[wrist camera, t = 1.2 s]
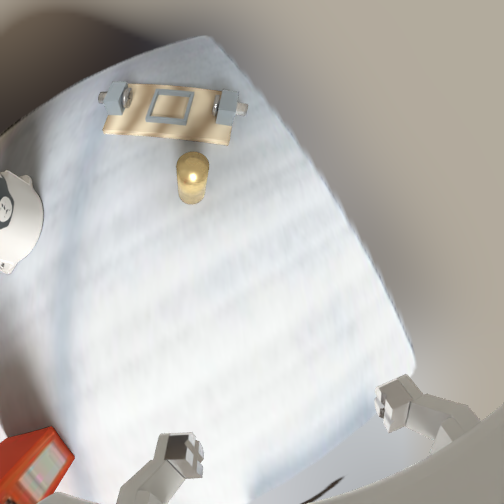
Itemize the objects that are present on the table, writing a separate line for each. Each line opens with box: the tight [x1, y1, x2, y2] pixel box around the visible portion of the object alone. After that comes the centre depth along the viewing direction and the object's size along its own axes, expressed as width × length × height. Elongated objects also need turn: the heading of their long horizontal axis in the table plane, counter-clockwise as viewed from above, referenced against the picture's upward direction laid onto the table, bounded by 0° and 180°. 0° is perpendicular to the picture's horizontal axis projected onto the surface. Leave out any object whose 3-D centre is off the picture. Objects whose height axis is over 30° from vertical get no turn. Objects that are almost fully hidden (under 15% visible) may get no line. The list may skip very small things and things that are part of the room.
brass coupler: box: [176, 152, 209, 204], centre depth 40 cm, size 4×4×10 cm
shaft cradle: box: [98, 82, 248, 146], centre depth 43 cm, size 28×12×6 cm, turn 84°
